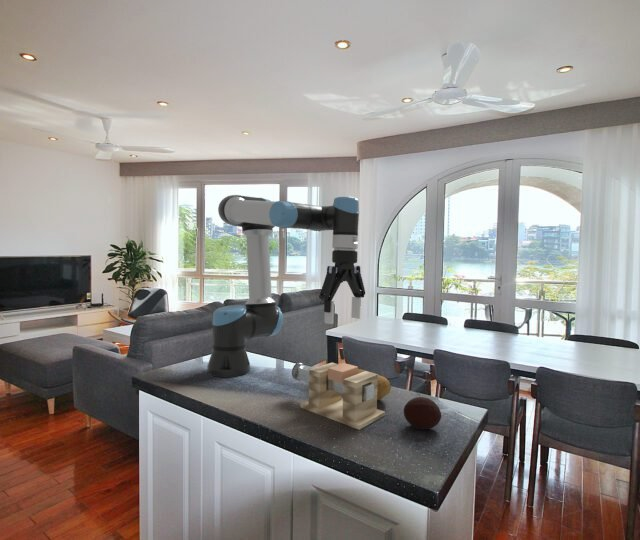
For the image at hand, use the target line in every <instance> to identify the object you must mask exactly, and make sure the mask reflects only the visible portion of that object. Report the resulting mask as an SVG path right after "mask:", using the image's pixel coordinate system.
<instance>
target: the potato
mask: <svg viewBox="0 0 640 540" xmlns="http://www.w3.org/2000/svg"><path fill="white" fill-rule="evenodd" d="M365 371H367V372H371V373H373V372H372V371H370V370H369V371H368V370H365V369H360V368H358V374H359V373H362V372H365ZM391 389H392V386H391V382H390V381H389V380H388V379H387V378H386V377H384V376H383V375H380V374H378V384H377V401H379V400H382V399H384V397H386V396H388V395H389V394H390V393H391Z"/></svg>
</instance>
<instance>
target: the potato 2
mask: <svg viewBox="0 0 640 540" xmlns="http://www.w3.org/2000/svg"><path fill="white" fill-rule="evenodd" d="M403 415H404V418H405V420H406V422H407V423H408V424H410V425H411V426H412V427H413V428H415V429H418V430H421V431H422V430H423V431H424V430H430V429H433V428H435V427H436V426H438V424H439V423H440V422H441V418H442V411H441V409H440V408H439V406H438V404H436V402H435V401H433V400H432V399H430V398H429V397H424V396H419V397H418V396H416V397H413V398H411V399H410V400H408V401H407V402H406V403H405V405H404V408H403Z"/></svg>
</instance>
